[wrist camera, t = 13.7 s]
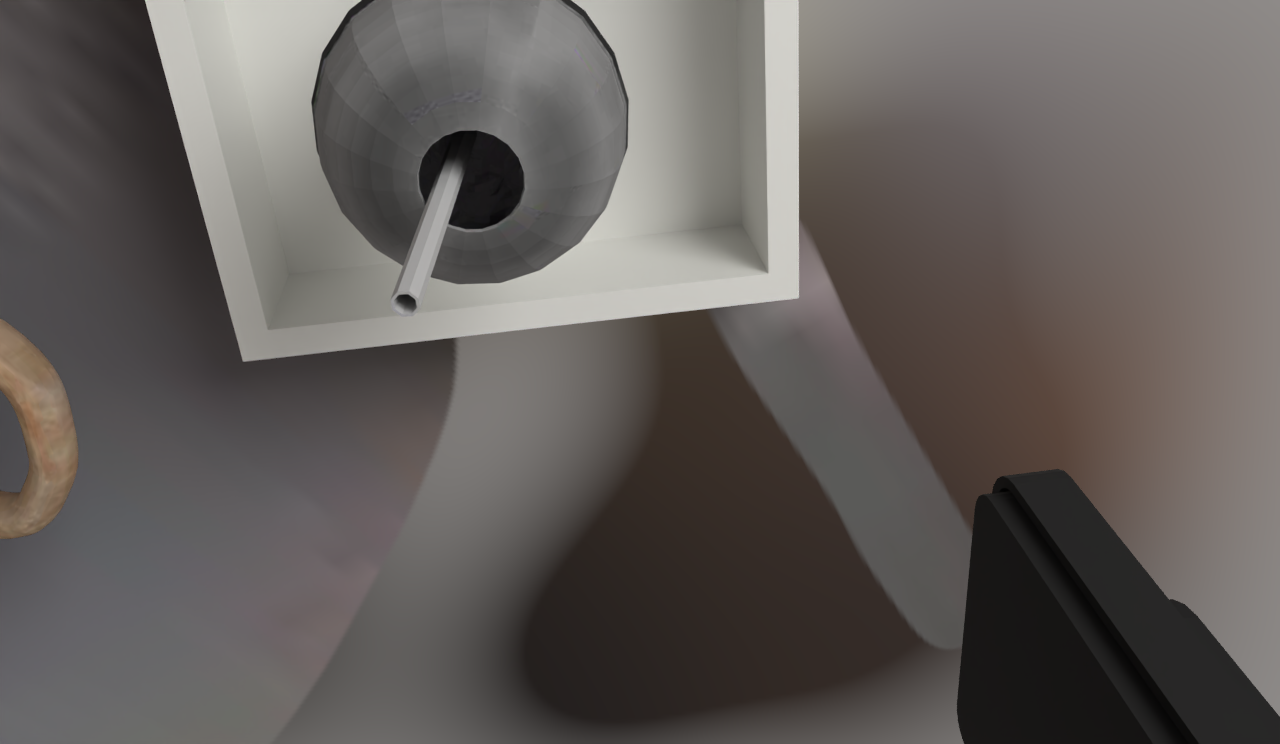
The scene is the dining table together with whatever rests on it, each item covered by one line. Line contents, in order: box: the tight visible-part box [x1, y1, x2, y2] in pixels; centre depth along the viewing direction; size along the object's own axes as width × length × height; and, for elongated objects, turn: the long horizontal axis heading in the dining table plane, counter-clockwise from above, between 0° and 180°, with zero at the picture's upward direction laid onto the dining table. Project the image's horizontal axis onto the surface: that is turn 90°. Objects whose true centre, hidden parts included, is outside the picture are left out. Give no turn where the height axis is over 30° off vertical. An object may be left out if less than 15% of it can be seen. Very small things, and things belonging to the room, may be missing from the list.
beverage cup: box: [311, 0, 629, 317], centre depth 28 cm, size 7×7×20 cm
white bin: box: [145, 0, 799, 362], centre depth 35 cm, size 18×18×5 cm
